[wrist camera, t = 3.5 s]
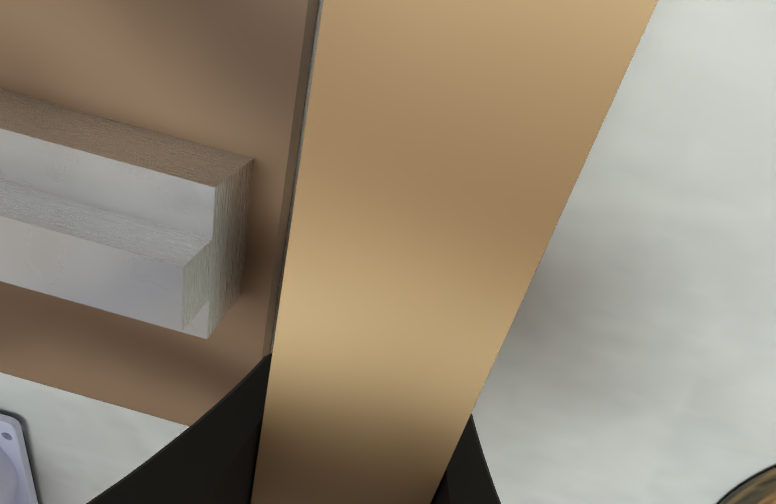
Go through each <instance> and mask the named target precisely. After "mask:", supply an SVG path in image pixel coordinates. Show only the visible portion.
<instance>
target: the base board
mask: <svg viewBox="0 0 776 504" xmlns="http://www.w3.org/2000/svg"><path fill="white" fill-rule="evenodd" d="M318 5H319V0H0V89H4V90H7V91H11V92H14V93H18V94H22V95H25V96H29V97H33V98H36V99H40V100H44V101H47V102H51V103H55V104H58V105H62V106H66V107H69V108H73V109H77V110H80V111H84V112H87V113H91V114H95V115H98V116H102V117H106V118H109V119H113V120H117V121H120V122H124V123H128V124H131V125H135V126H139V127H142V128H146V129H149V130H153V131H157V132H160V133H164V134H168V135H171V136H175V137H179V138H182V139H186V140H190V141H193V142H197V143H201V144H204V145H208V146H212V147H215V148H219V149H222V150H226V151H230V152H233V153H237V154H241V155H244V156H248V157H252V158H254V164H253V174H252V185H251V195H250V206H249V217H248V227H247V238H246V248H245V259H244V270H243V280H242V291H241V295H240V296H239V298H238V299H237V300H236V302H235V303H234V304H233V306H232V307H231V308H230V310H229V311H228V312H227V313H226V315H225V316H224V317H223V319H222V320H221V321H220V323H219V324H218V325H217V327H216V328H215V329H214V331H213V332H212V333H211V334H210V336H209V337H208V338H207V339H204V338H201V337H197V336H193V335H190V334H186V333H183V332H179V331H176V330H172V329H169V328H165V327H162V326H158V325H154V324H151V323H147V322H144V321H140V320H137V319H133V318H130V317H126V316H123V315H119V314H115V313H112V312H108V311H105V310H101V309H98V308H94V307H91V306H87V305H84V304H80V303H76V302H73V301H69V300H66V299H62V298H59V297H55V296H52V295H48V294H45V293H41V292H37V291H34V290H30V289H27V288H23V287H20V286H16V285H13V284H9V283H5V282H2V281H0V372H2V373H5V374H9V375H12V376H16V377H19V378H23V379H26V380H30V381H33V382H37V383H40V384H44V385H47V386H51V387H54V388H58V389H61V390H65V391H68V392H72V393H75V394H79V395H82V396H86V397H89V398H93V399H96V400H100V401H103V402H107V403H110V404H114V405H117V406H121V407H124V408H128V409H131V410H135V411H138V412H142V413H145V414H149V415H152V416H156V417H159V418H163V419H166V420H170V421H173V422H177V423H180V424H184V425H187V426H191V425H192V424H194V423H195V422H196V421H197V420H198V419H199V418H200V417H202V416H203V415H204V414H205V413H206V412H207V411H208V410H210V409H211V408H212V407H213V406H214V405H215V404H216V403H218V402H219V401H220V400H221V399H222V398H223V397H224V396H225V395H226V394H227V393H229V392H230V391H231V390H232V389H233V388H234V387H235V386H236V385H237V384H238V383H239V382H240V381H241V380H242V379H243V378H244V377H245V376H246V375H247V374H248V373H249V372H250V371H251V370H252V369H253V368H254V367H255V366H256V365H257V364H258V363H259V362H260V361H261V360H262V358H263V357H264V356H266V355H268V354H270V347H271V339H272V332H273V325H274V318H275V311H276V304H277V297H278V290H279V283H280V275H281V268H282V261H283V254H284V247H285V240H286V233H287V226H288V218H289V211H290V204H291V197H292V190H293V183H294V176H295V169H296V162H297V154H298V147H299V140H300V133H301V126H302V119H303V112H304V105H305V98H306V90H307V83H308V76H309V69H310V62H311V55H312V48H313V41H314V33H315V26H316V19H317V12H318Z"/></svg>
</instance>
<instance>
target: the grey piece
mask: <svg viewBox="0 0 776 504" xmlns="http://www.w3.org/2000/svg"><path fill="white" fill-rule="evenodd" d="M253 164H254V158H252V157H248V156H244V155H241V154H237V153H233V152H230V151H226V150H222V149H219V148H215V147H212V146H208V145H204V144H201V143H197V142H193V141H190V140H186V139H182V138H179V137H175V136H171V135H168V134H164V133H160V132H157V131H153V130H149V129H146V128H142V127H139V126H135V125H131V124H128V123H124V122H120V121H117V120H113V119H109V118H106V117H102V116H98V115H95V114H91V113H87V112H84V111H80V110H77V109H73V108H69V107H66V106H62V105H58V104H55V103H51V102H47V101H44V100H40V99H36V98H33V97H29V96H25V95H22V94H18V93H14V92H11V91H7V90H4V89H0V281H2V282H5V283H9V284H13V285H16V286H20V287H23V288H27V289H30V290H34V291H37V292H41V293H45V294H48V295H52V296H55V297H59V298H62V299H66V300H69V301H73V302H76V303H80V304H84V305H87V306H91V307H94V308H98V309H101V310H105V311H108V312H112V313H115V314H119V315H123V316H126V317H130V318H133V319H137V320H140V321H144V322H147V323H151V324H154V325H158V326H162V327H165V328H169V329H172V330H176V331H179V332H183V333H186V334H190V335H193V336H197V337H201V338H204V339H207V338H208V337H209V336H210V334H211V333H212V332H213V331H214V329H215V328H216V327H217V325H218V324H219V323H220V321H221V320H222V319H223V317H224V316H225V315H226V313H227V312H228V311H229V310H230V308H231V307H232V306H233V304H234V303H235V302H236V300H237V299H238V298H239V296H240V295H241V291H242V280H243V270H244V259H245V248H246V238H247V227H248V217H249V206H250V195H251V185H252V174H253Z"/></svg>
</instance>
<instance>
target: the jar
mask: <svg viewBox="0 0 776 504" xmlns="http://www.w3.org/2000/svg"><path fill="white" fill-rule="evenodd" d="M720 504H776V467H775V468H773V469H771V470H768V471H766V472H764V473H762V474H760V475H759V476H757V477H755V478H753V479H751V480H750V481H748V482H747V483H745V484H743V485H742V486H740V487H739V488H738V489H736V490H735V491H733V492H732V493H731V494H730V495H728V496H727V497H726V498H725V499H724V500H723V501H722V502H721V503H720Z"/></svg>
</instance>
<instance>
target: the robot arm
mask: <svg viewBox="0 0 776 504" xmlns="http://www.w3.org/2000/svg"><path fill="white" fill-rule="evenodd" d="M271 359H272V354H268V355H266V356H264V357H263V358H262V360H261V361H260V362H259V363H258V364H257V365H256V366H255V367H254V368H253V369H252V370H251V371H250V372H249V373H248V374H247V375H246V376H245V377H244V378H243V379H242V380H241V381H240V382H239V383H238V384H237V385H236V386H235V387H234V388H233V389H232V390H231V391H230V392H229V393H227V394H226V395H225V396H224V397H223V398H222V399H221V400H220V401H219V402H218V403H216V404H215V405H214V406H213V407H212V408H211V409H210V410H208V411H207V412H206V413H205V414H204V415H203V416H202V417H200V418H199V419H198V420H197V421H196V422H195V423H194V424H192V425H191V426H190V427H189V428H188V429H186V430H185V431H184V432H183V433H181V434H180V435H179V436H178V437H176V438H175V439H174V440H173V441H171V442H170V443H169V444H168V445H166V446H165V447H164V448H163V449H161V450H160V451H159V452H157V453H156V454H155V455H154V456H152V457H151V458H150V459H149V460H147V461H146V462H145V463H143V464H142V465H141V466H139V467H138V468H136V469H135V470H134V471H132V472H131V473H130V474H128V475H127V476H126V477H124V478H123V479H121V480H120V481H119V482H117V483H116V484H114V485H113V486H111V487H110V488H108V489H107V490H106V491H104V492H103V493H101V494H100V495H98V496H97V497H95V498H94V499H92V500H91V501H89V502H88V503H86V504H251V498H252V491H253V484H254V477H255V470H256V463H257V457H258V450H259V443H260V436H261V429H262V422H263V415H264V408H265V401H266V394H267V387H268V380H269V373H270V366H271ZM0 504H38V501H37V497H36V492H35V487H34V483H33V478H32V474H31V469H30V465H29V460H28V455H27V451H26V446H25V442H24V437H23V433H22V428H21V425H20V423H19V422H18V420H16V419H15V418H13V417H10V416H7V415H3V414H0ZM430 504H501V502H500V500H499V497H498V494H497V492H496V489H495V486H494V484H493V481H492V478H491V475H490V472H489V469H488V466H487V463H486V460H485V457H484V454H483V451H482V448H481V444H480V441H479V438H478V434H477V431H476V427H475V424H474V420H473V416H472V414H471V415H470V417H469V419H468V421H467V424H466V426H465V428H464V430H463V432H462V435H461V437H460V439H459V441H458V443H457V446H456V448H455V450H454V452H453V454H452V457H451V459H450V461H449V463H448V465H447V468H446V470H445V472H444V474H443V477H442V479H441V481H440V483H439V485H438V488H437V490H436V492H435V494H434V496H433V499H432V501H431V503H430Z"/></svg>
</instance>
